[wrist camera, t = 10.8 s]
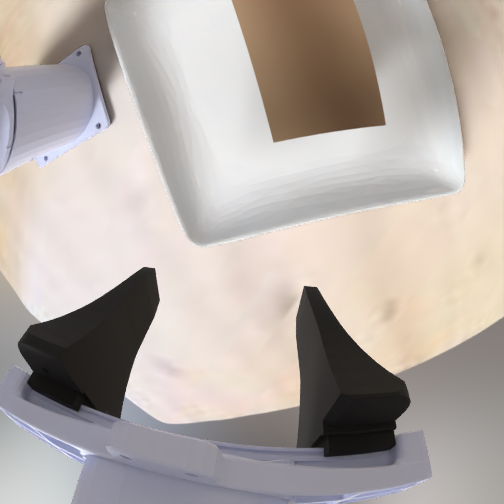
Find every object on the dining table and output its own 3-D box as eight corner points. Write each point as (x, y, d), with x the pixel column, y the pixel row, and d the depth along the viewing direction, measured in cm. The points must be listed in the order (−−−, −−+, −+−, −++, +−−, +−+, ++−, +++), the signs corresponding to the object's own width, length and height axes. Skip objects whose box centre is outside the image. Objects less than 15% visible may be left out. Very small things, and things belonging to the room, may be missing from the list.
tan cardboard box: (274, 128, 15) (273, 142, 10) (239, 9, 11) (220, -32, 6) (349, 115, 14) (385, 125, 9) (315, -4, 10) (332, -48, 5)
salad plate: (118, 7, 13) (96, -2, 10) (378, -54, 8) (392, -71, 5) (201, 233, 23) (190, 255, 20) (445, 178, 18) (467, 192, 15)
